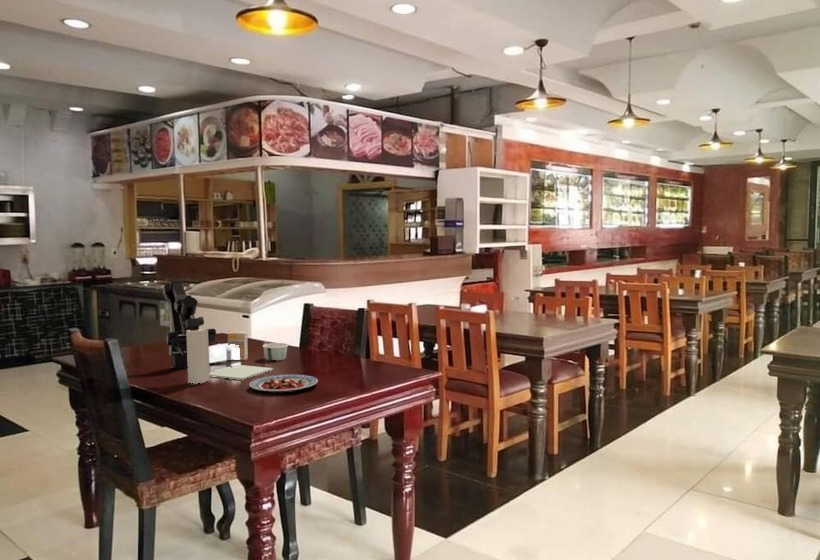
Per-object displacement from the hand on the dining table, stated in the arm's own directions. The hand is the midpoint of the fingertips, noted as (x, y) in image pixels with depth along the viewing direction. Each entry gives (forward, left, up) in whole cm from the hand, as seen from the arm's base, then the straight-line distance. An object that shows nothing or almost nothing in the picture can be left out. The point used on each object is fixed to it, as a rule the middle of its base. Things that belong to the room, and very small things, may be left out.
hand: (195, 353), depth 246 cm
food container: (+1, +51, -12) cm, 52 cm away
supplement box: (-14, +42, -12) cm, 46 cm away
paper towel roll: (+2, -1, -12) cm, 12 cm away
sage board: (+6, +19, -11) cm, 23 cm away
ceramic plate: (+38, +7, -12) cm, 40 cm away
